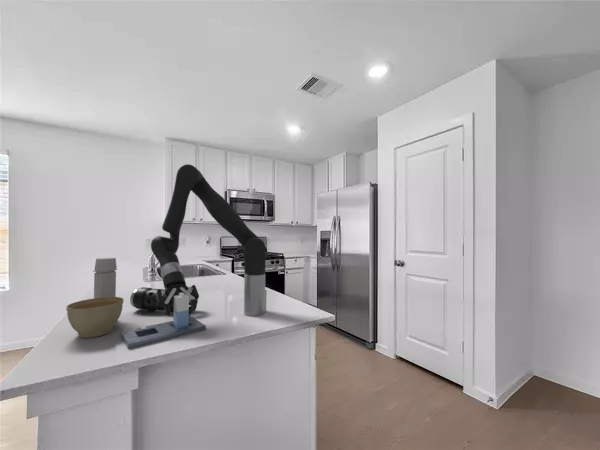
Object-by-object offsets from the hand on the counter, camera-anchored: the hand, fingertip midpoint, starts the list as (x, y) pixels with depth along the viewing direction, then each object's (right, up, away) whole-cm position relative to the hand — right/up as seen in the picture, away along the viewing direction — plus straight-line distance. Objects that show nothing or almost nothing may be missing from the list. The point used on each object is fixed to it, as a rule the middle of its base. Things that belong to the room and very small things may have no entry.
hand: (182, 312), depth 97 cm
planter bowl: (-30, -7, -2) cm, 30 cm away
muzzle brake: (-18, -7, +23) cm, 30 cm away
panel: (-5, -7, -3) cm, 9 cm away
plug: (-1, -6, +1) cm, 6 cm away
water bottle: (-36, -7, +10) cm, 38 cm away
